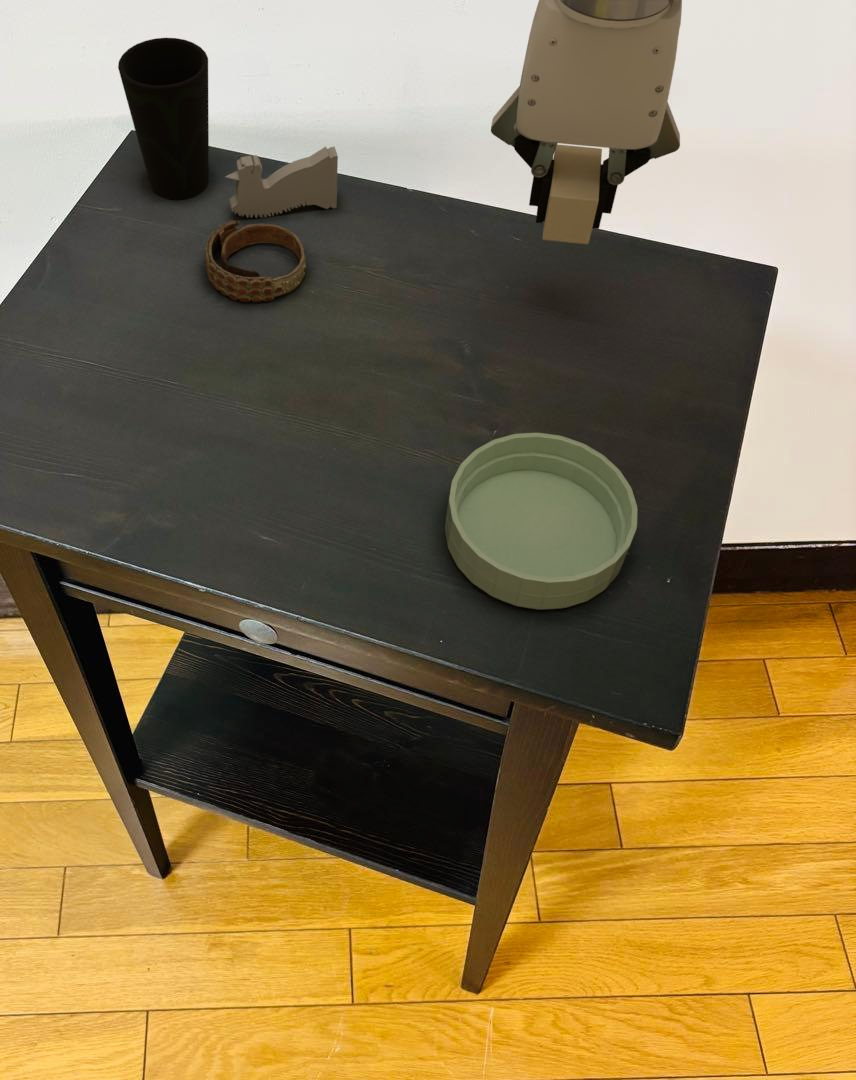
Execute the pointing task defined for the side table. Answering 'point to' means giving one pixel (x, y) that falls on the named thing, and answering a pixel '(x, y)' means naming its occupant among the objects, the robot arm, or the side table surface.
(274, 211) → the serrated bird cutout
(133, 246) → the side table surface
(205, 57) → the cup
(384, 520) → the side table surface
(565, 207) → the tan rectangular block
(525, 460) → the bowl
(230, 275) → the bracelet
